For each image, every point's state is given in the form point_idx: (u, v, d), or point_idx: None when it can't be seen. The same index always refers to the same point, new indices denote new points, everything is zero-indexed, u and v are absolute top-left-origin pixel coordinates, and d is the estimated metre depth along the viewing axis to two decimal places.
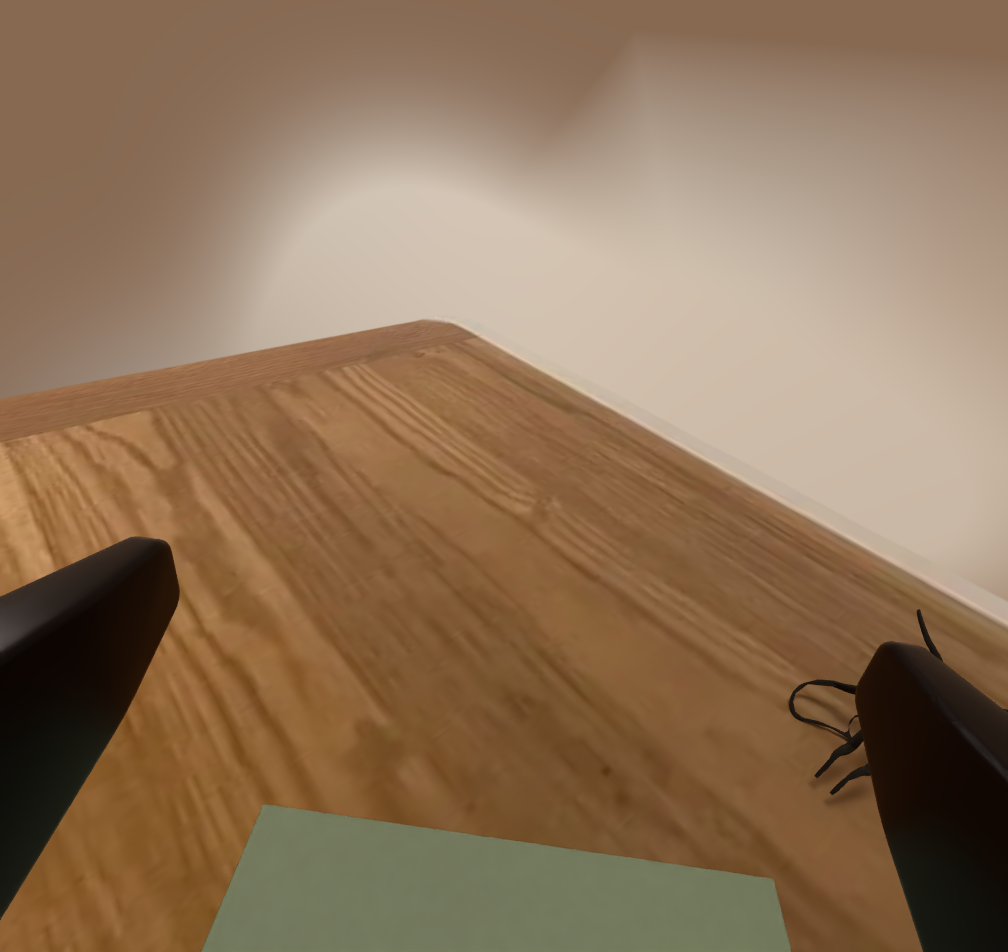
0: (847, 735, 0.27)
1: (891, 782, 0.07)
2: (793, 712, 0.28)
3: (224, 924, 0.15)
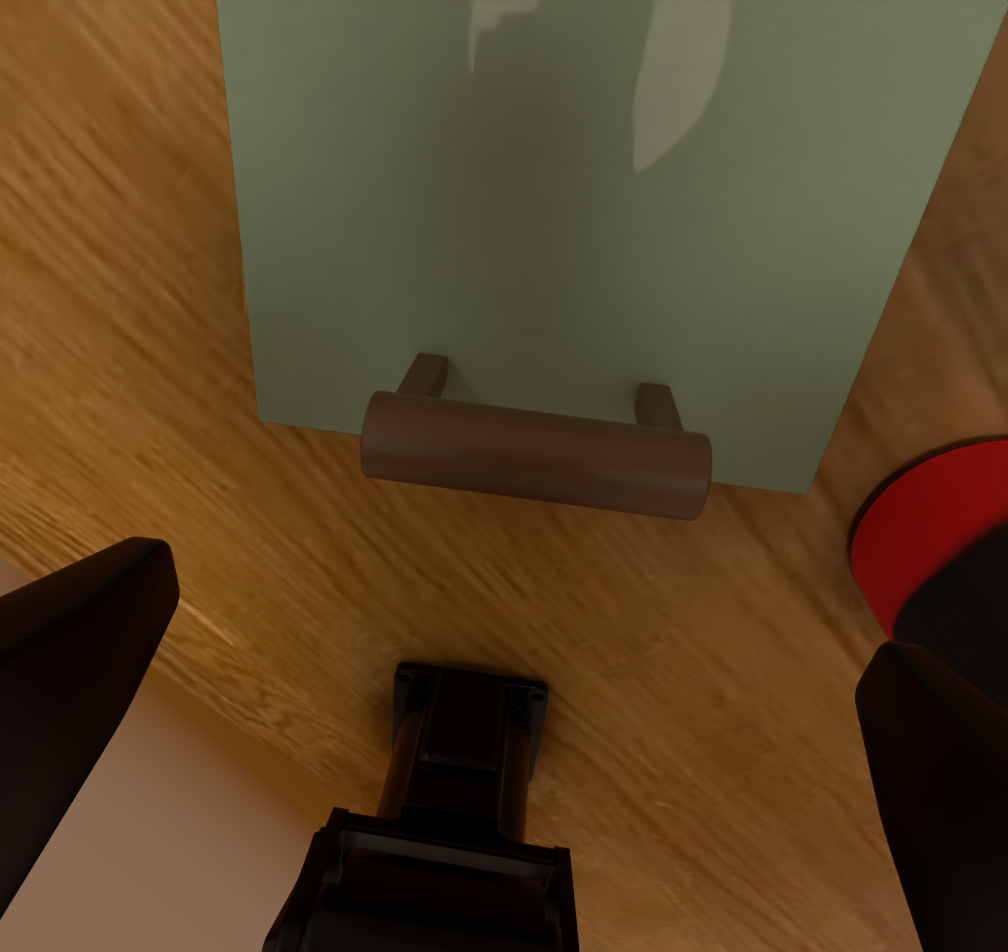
0: None
1: (891, 782, 0.07)
2: None
3: None
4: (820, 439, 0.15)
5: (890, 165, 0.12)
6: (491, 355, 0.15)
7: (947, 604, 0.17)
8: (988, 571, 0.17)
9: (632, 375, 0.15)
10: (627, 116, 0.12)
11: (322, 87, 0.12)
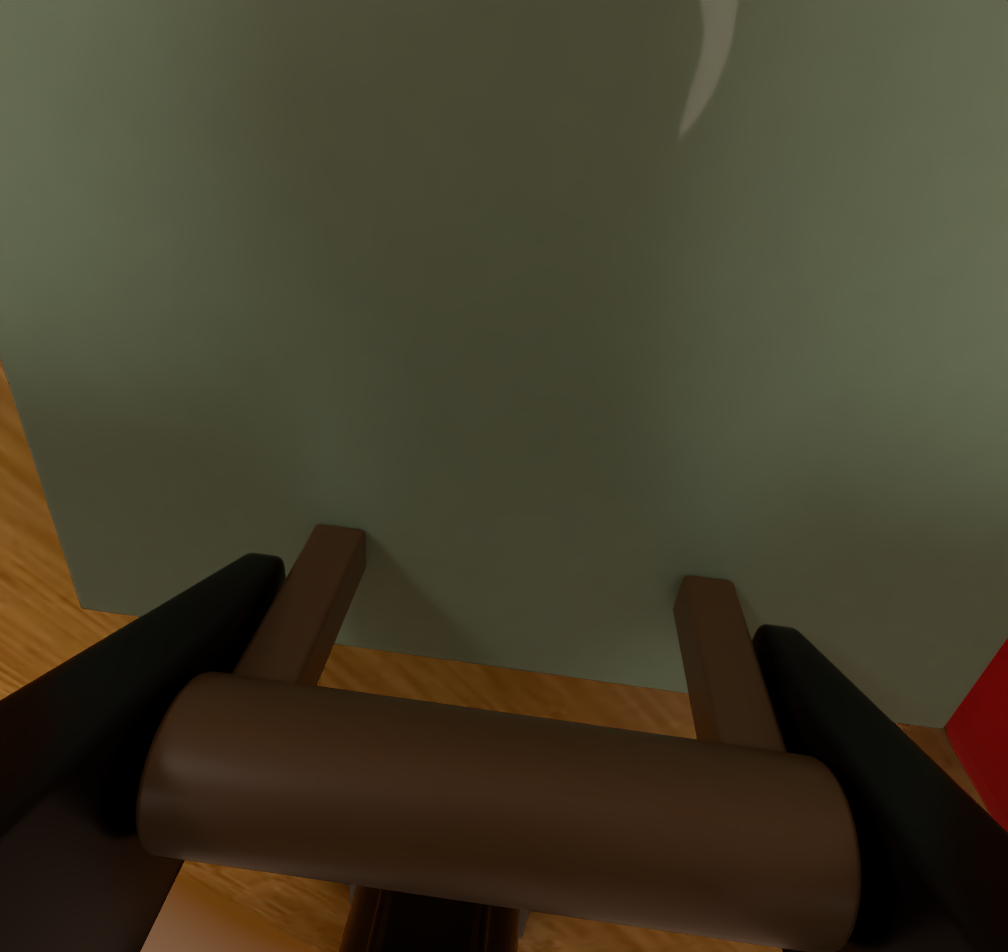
0: None
1: None
2: None
3: None
4: (976, 660, 0.09)
5: None
6: (437, 529, 0.09)
7: None
8: None
9: (670, 563, 0.09)
10: (678, 141, 0.06)
11: (91, 85, 0.06)
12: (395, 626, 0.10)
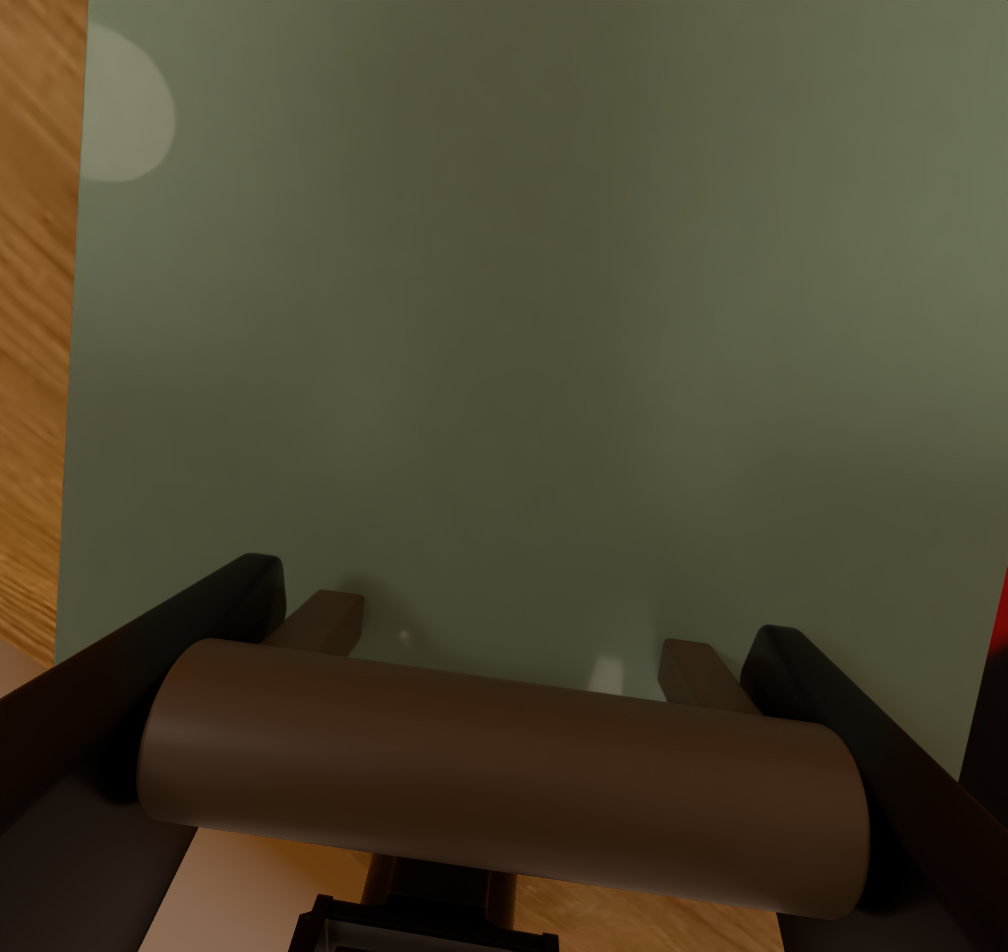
0: None
1: None
2: None
3: (103, 57, 0.09)
4: (954, 733, 0.09)
5: (990, 329, 0.09)
6: (433, 594, 0.09)
7: None
8: (996, 699, 0.16)
9: (651, 626, 0.09)
10: (627, 262, 0.09)
11: (211, 220, 0.09)
12: None
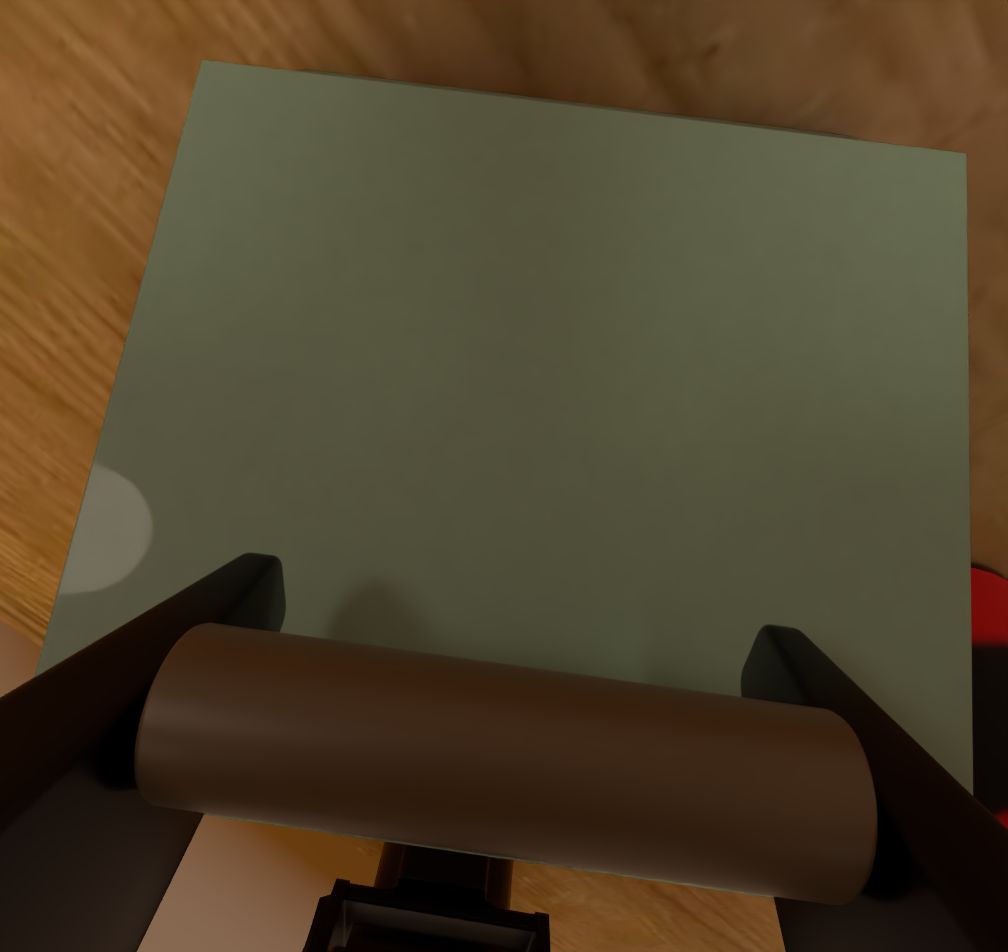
0: None
1: None
2: None
3: (177, 203, 0.11)
4: None
5: (910, 415, 0.10)
6: None
7: None
8: None
9: None
10: (601, 358, 0.10)
11: (249, 320, 0.10)
12: None
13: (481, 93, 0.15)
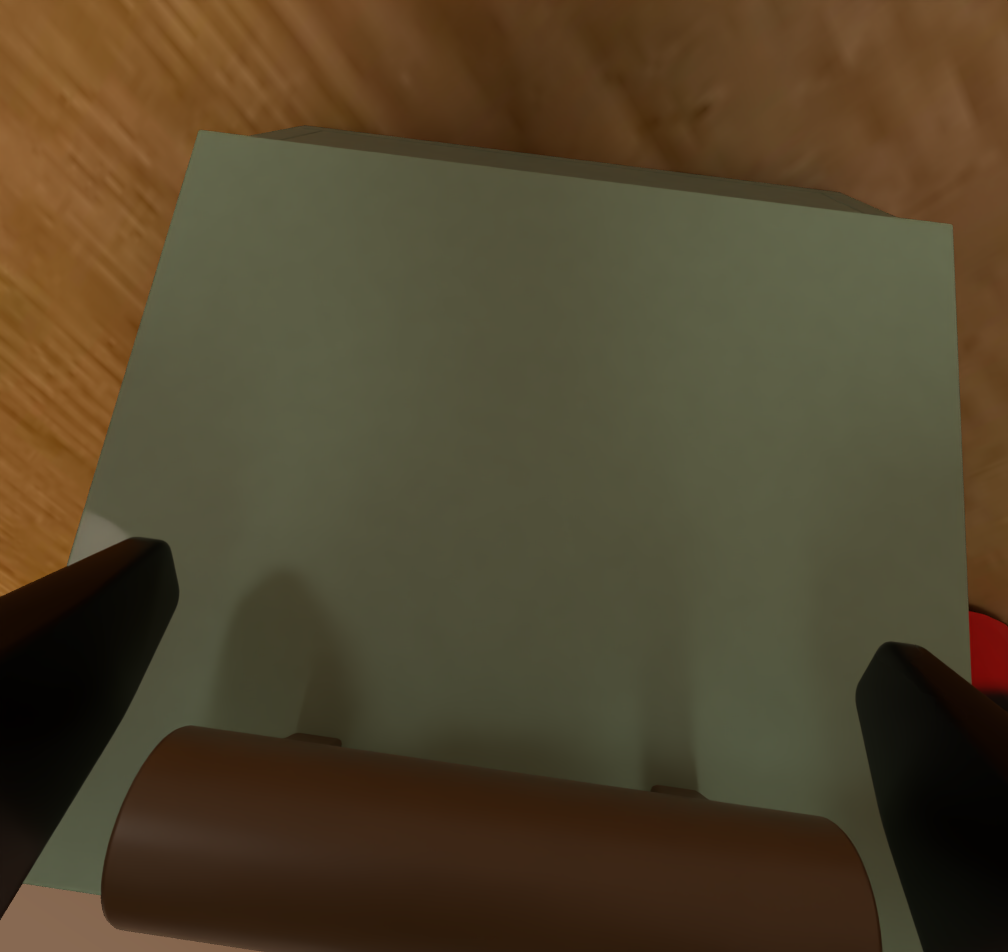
0: None
1: (891, 782, 0.07)
2: None
3: (171, 271, 0.11)
4: None
5: (905, 485, 0.10)
6: (413, 738, 0.09)
7: None
8: None
9: (636, 772, 0.09)
10: (593, 427, 0.10)
11: (239, 388, 0.10)
12: None
13: (476, 151, 0.15)
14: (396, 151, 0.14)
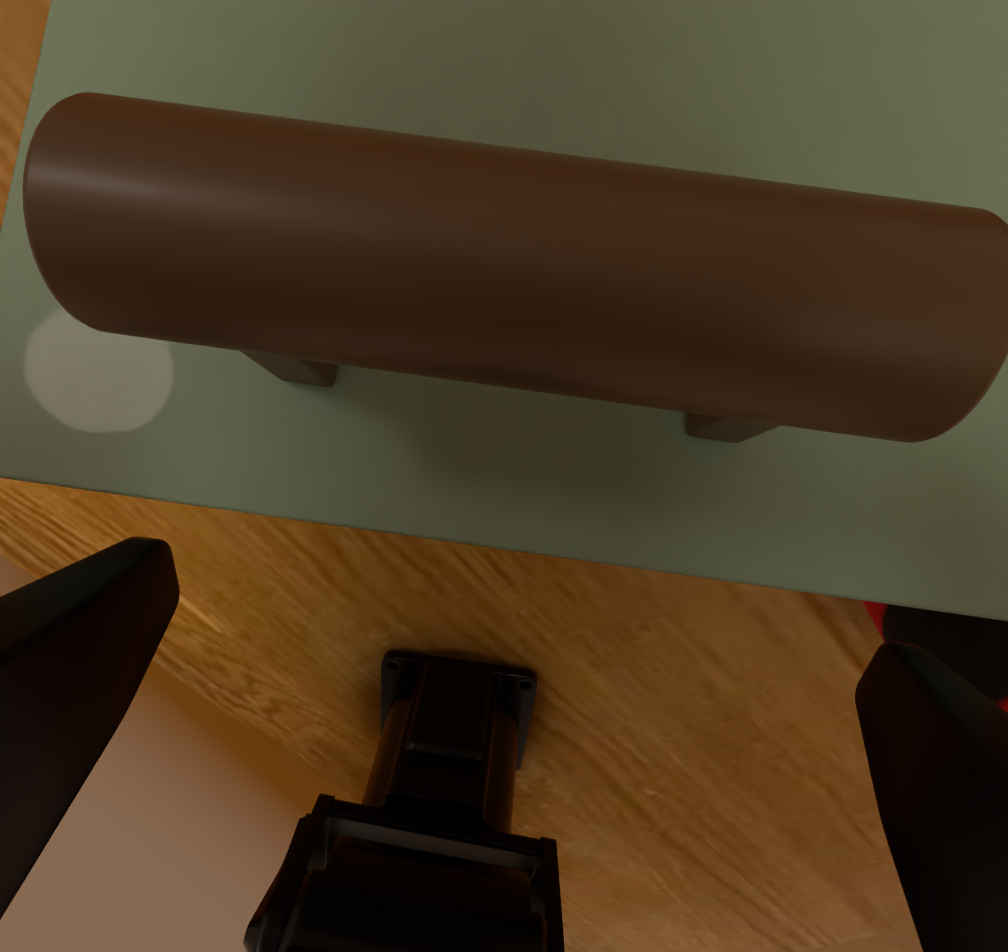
0: None
1: (891, 782, 0.07)
2: None
3: None
4: None
5: None
6: None
7: None
8: None
9: None
10: None
11: None
12: (355, 480, 0.08)
13: None
14: None
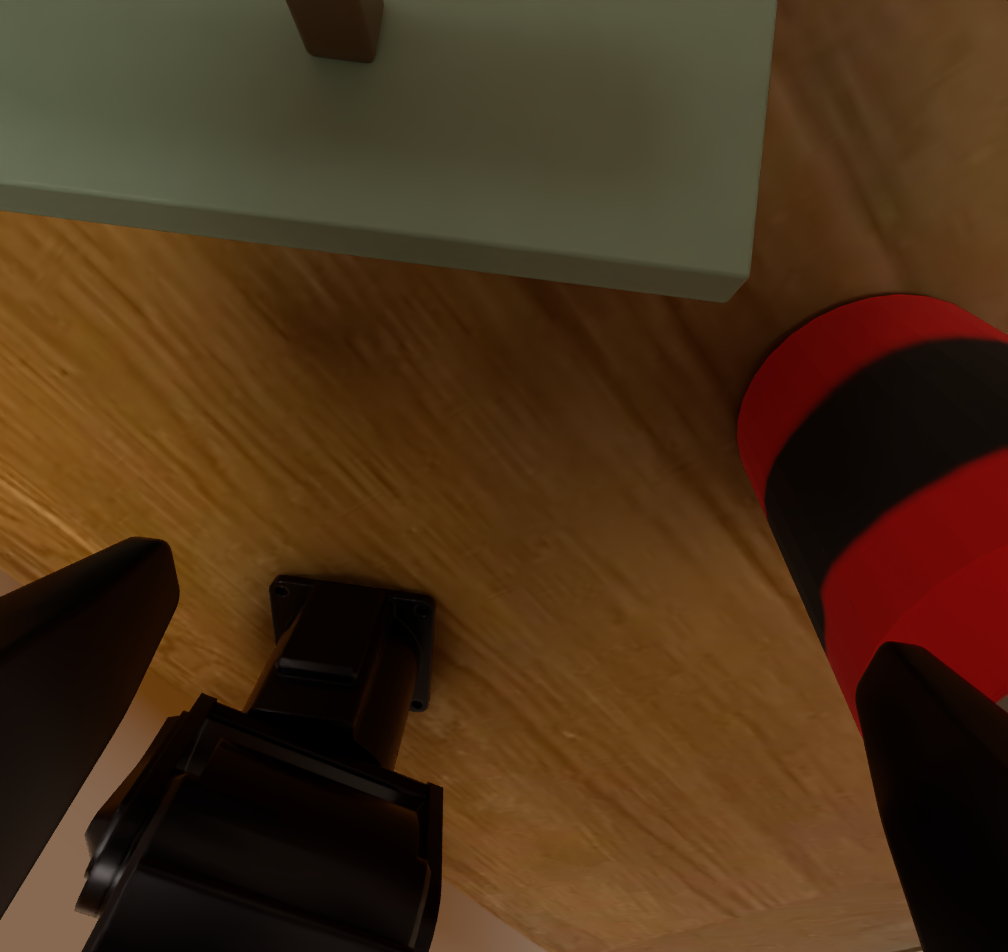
0: None
1: (891, 782, 0.07)
2: None
3: None
4: (742, 125, 0.06)
5: None
6: None
7: (805, 455, 0.15)
8: (847, 412, 0.15)
9: None
10: None
11: None
12: None
13: None
14: None
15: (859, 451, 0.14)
